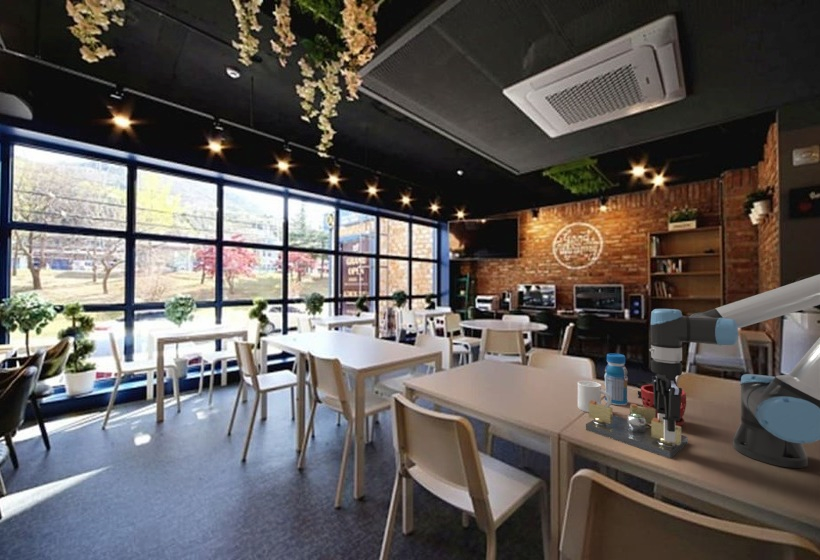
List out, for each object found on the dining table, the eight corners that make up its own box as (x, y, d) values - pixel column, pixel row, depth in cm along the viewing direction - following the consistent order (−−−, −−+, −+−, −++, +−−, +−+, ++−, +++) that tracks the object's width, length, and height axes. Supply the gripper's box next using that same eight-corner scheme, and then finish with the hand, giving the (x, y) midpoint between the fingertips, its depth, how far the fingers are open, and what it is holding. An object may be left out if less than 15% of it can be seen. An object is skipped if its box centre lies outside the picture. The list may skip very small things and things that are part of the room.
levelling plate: (688, 442, 109) (688, 420, 109) (670, 458, 99) (670, 434, 99) (607, 418, 128) (607, 399, 128) (585, 429, 118) (585, 409, 118)
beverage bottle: (611, 406, 140) (611, 357, 140) (600, 398, 149) (600, 352, 149) (632, 406, 140) (632, 357, 140) (620, 399, 149) (620, 352, 149)
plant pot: (649, 412, 134) (649, 381, 134) (691, 424, 123) (691, 390, 123) (634, 420, 126) (634, 387, 126) (677, 433, 115) (677, 397, 115)
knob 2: (681, 445, 102) (682, 424, 102) (678, 448, 100) (678, 426, 100) (654, 436, 107) (654, 416, 107) (650, 439, 105) (650, 419, 105)
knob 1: (613, 424, 117) (613, 405, 117) (608, 426, 115) (608, 407, 115) (592, 417, 123) (592, 399, 123) (587, 419, 121) (587, 401, 121)
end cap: (657, 402, 145) (657, 386, 145) (637, 398, 150) (637, 382, 150) (661, 396, 152) (661, 381, 152) (642, 393, 157) (642, 378, 157)
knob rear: (652, 423, 117) (652, 405, 117) (656, 427, 114) (656, 408, 114) (629, 421, 120) (629, 402, 120) (632, 424, 117) (632, 406, 117)
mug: (614, 412, 133) (614, 386, 133) (606, 418, 128) (606, 390, 128) (582, 404, 142) (583, 379, 142) (574, 409, 137) (574, 383, 137)
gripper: (641, 354, 113) (641, 425, 113) (664, 366, 97) (664, 449, 97) (667, 355, 111) (667, 428, 111) (695, 367, 95) (696, 452, 95)
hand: (666, 437), depth 104 cm, fingers closed on knob 2, 3 cm apart
